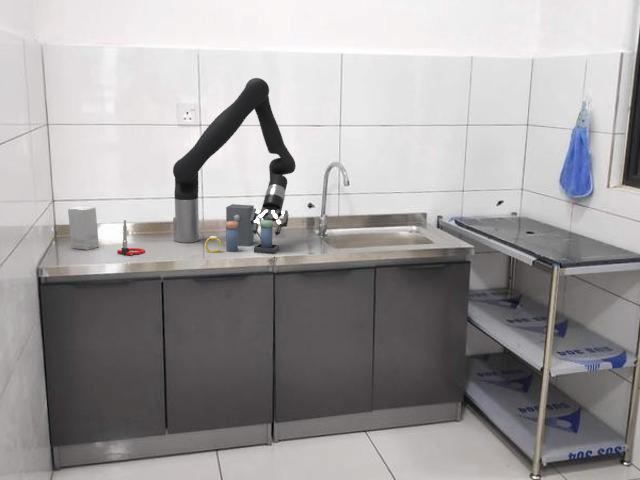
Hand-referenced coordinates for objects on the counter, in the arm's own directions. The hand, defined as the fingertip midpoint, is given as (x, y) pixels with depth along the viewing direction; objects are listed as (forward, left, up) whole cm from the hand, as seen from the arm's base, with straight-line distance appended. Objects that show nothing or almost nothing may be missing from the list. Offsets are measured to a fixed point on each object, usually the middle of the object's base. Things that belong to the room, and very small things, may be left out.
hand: (265, 233), depth 249 cm
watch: (-19, -5, -7) cm, 21 cm away
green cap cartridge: (0, +1, -6) cm, 7 cm away
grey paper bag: (-68, -13, -7) cm, 70 cm away
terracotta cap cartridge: (-13, -1, -7) cm, 15 cm away
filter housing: (-14, +11, -7) cm, 19 cm away
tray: (0, +1, -7) cm, 7 cm away
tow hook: (-47, -15, -8) cm, 50 cm away
